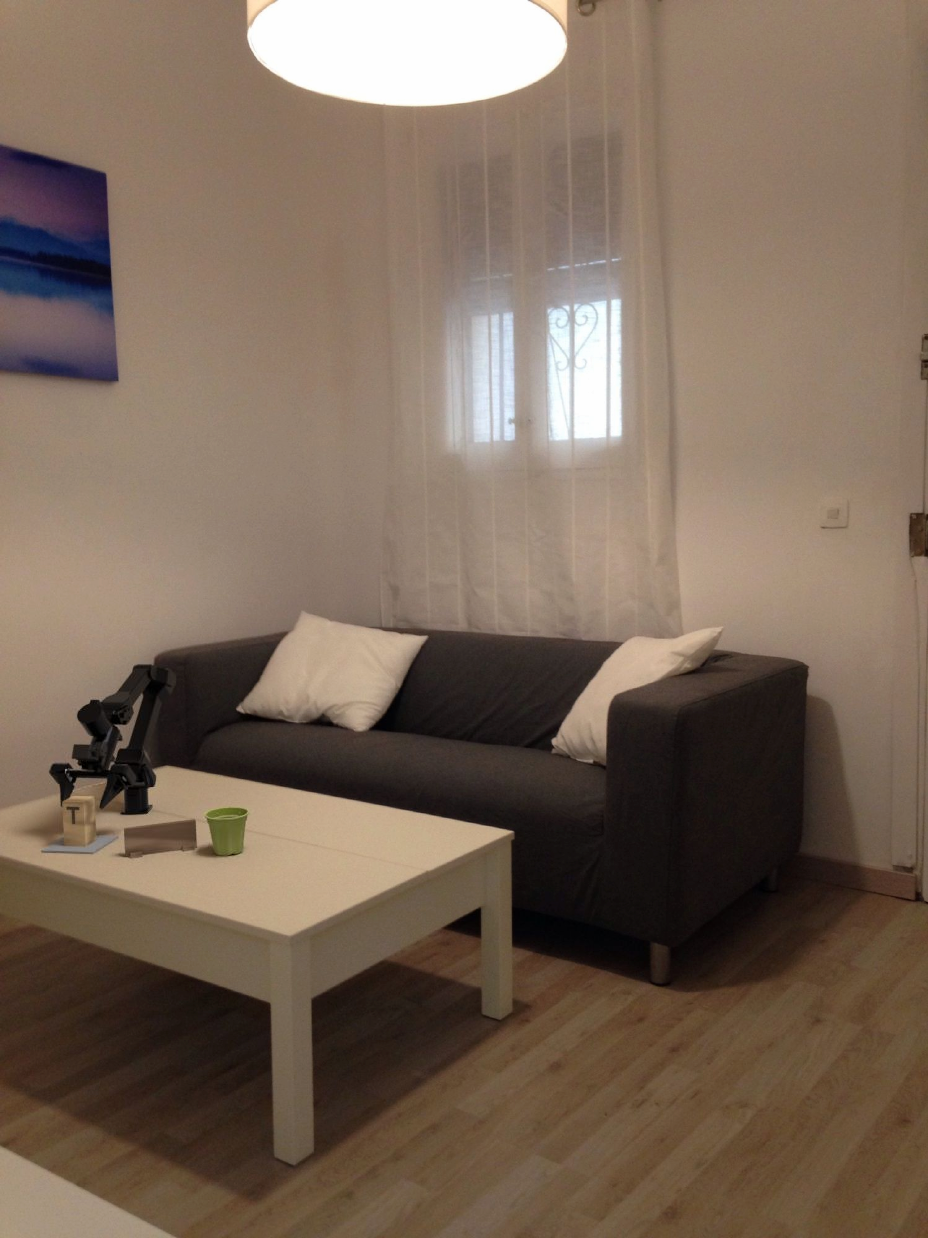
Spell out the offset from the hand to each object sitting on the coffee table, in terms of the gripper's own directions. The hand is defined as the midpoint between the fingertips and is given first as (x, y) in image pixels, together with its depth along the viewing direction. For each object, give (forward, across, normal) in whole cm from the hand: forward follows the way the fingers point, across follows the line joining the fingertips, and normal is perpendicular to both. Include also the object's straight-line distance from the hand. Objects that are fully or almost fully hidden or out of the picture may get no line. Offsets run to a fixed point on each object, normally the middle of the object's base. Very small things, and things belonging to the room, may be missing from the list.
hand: (81, 807), depth 248 cm
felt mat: (+7, 0, +5) cm, 8 cm away
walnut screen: (+8, +20, +3) cm, 22 cm away
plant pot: (+8, +35, +4) cm, 36 cm away
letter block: (+6, 0, +5) cm, 8 cm away
